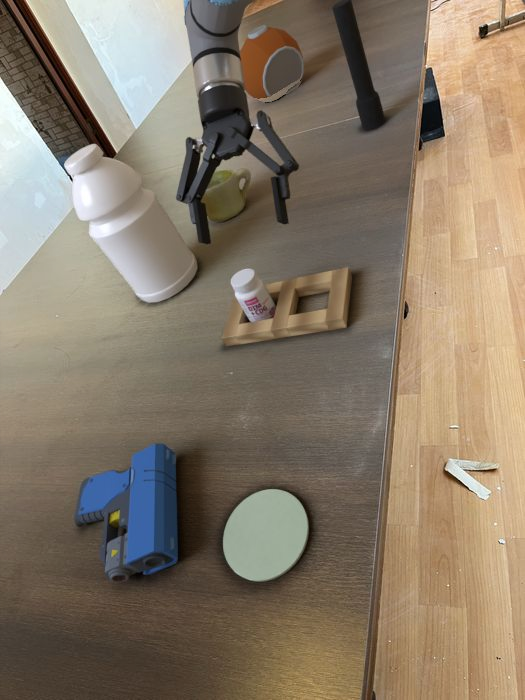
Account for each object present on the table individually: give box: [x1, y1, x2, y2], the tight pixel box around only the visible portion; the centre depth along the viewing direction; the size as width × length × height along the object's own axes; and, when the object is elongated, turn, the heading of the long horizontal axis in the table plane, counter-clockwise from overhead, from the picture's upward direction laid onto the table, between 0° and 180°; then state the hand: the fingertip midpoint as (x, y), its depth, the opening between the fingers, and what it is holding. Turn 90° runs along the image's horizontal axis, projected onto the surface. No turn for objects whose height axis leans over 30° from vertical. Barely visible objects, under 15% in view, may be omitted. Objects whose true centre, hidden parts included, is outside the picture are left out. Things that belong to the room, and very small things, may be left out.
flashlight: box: [331, 0, 386, 131], centre depth 100 cm, size 5×24×5 cm
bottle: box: [63, 143, 198, 304], centre depth 90 cm, size 14×14×28 cm
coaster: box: [222, 488, 310, 583], centre depth 53 cm, size 10×10×1 cm
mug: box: [201, 168, 252, 223], centre depth 106 cm, size 12×10×10 cm
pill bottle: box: [230, 268, 277, 322], centre depth 76 cm, size 5×5×8 cm
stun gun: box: [73, 443, 179, 583], centre depth 61 cm, size 4×16×15 cm
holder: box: [221, 266, 353, 347], centre depth 76 cm, size 20×11×2 cm, turn 79°
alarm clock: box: [239, 24, 305, 99], centre depth 141 cm, size 19×18×17 cm
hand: (242, 233), depth 75 cm, fingers open, 13 cm apart
